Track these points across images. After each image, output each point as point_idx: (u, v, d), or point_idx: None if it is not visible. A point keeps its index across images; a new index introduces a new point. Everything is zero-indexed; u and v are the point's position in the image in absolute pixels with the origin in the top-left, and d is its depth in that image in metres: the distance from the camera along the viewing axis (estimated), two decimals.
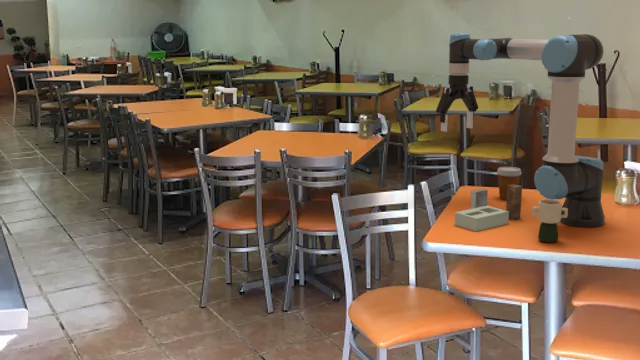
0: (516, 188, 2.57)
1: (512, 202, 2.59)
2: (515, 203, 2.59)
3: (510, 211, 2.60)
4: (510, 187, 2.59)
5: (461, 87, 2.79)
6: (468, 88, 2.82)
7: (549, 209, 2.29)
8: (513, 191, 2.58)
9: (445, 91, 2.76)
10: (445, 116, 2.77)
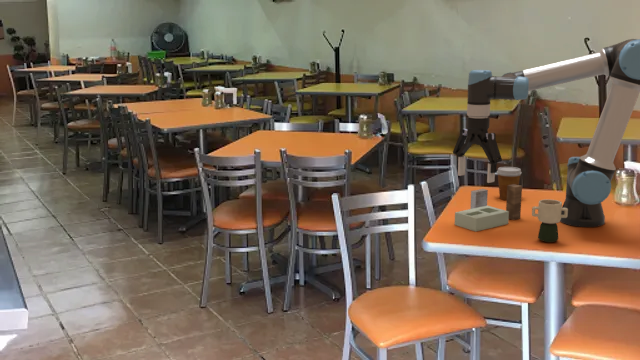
0: (516, 188, 2.57)
1: (512, 202, 2.59)
2: (515, 203, 2.59)
3: (510, 211, 2.60)
4: (510, 187, 2.59)
5: (476, 131, 2.44)
6: (487, 135, 2.41)
7: (549, 209, 2.29)
8: (513, 191, 2.58)
9: None
10: None
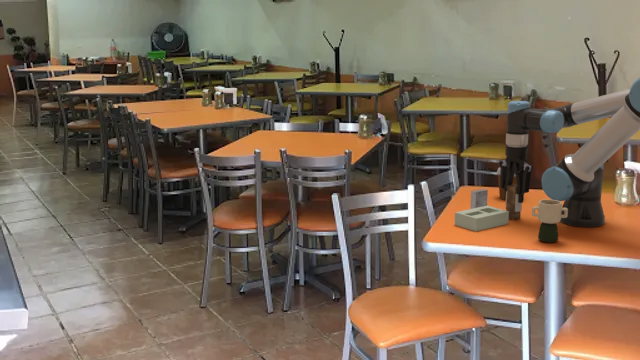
0: (516, 188, 2.57)
1: (512, 202, 2.59)
2: None
3: (510, 211, 2.60)
4: (510, 187, 2.59)
5: (515, 159, 2.56)
6: (525, 166, 2.53)
7: (549, 209, 2.29)
8: (513, 191, 2.58)
9: None
10: (506, 193, 2.61)
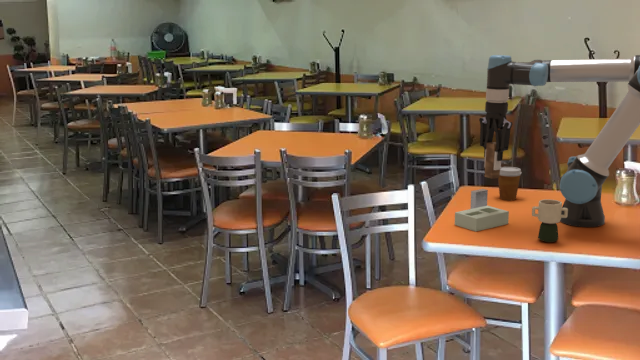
0: (495, 145, 2.49)
1: (491, 159, 2.51)
2: None
3: (489, 169, 2.52)
4: (489, 144, 2.51)
5: (495, 116, 2.48)
6: (505, 122, 2.45)
7: (549, 209, 2.29)
8: (492, 148, 2.50)
9: None
10: None
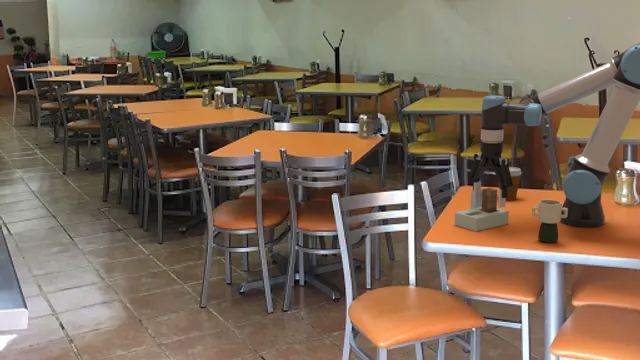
0: (491, 192, 2.52)
1: (487, 206, 2.53)
2: (491, 208, 2.53)
3: None
4: (485, 191, 2.53)
5: (490, 156, 2.50)
6: None
7: (549, 209, 2.29)
8: (488, 195, 2.52)
9: None
10: None
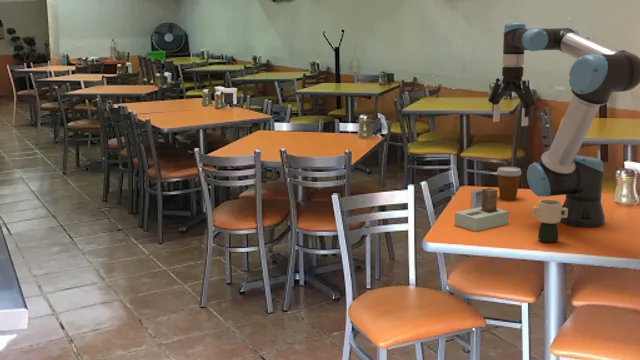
0: (491, 192, 2.52)
1: (487, 206, 2.53)
2: (491, 208, 2.53)
3: None
4: (485, 191, 2.53)
5: (511, 79, 2.67)
6: None
7: (549, 209, 2.29)
8: (488, 195, 2.52)
9: None
10: (494, 106, 2.75)
